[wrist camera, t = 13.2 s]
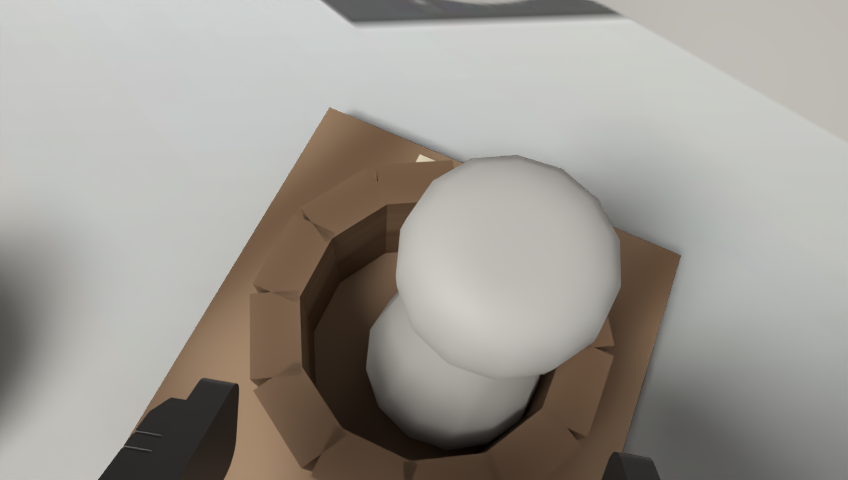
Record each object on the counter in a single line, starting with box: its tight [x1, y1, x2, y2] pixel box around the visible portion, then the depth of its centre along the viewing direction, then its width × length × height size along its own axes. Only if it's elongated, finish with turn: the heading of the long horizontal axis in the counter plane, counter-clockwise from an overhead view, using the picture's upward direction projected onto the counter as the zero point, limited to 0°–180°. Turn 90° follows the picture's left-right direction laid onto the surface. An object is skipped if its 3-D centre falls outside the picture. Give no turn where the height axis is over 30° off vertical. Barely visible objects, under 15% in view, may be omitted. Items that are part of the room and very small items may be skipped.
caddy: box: [122, 108, 681, 480], centre depth 22 cm, size 16×16×6 cm
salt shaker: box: [366, 155, 621, 450], centre depth 17 cm, size 6×6×13 cm
